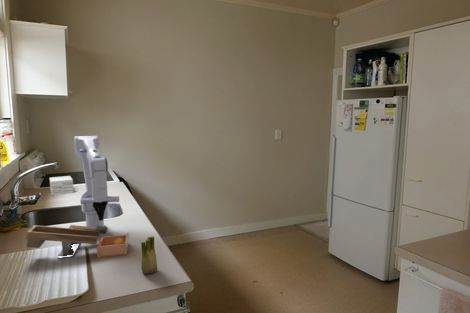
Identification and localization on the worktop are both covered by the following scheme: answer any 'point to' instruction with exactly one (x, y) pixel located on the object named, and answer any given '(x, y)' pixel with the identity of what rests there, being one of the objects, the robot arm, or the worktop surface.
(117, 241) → the ball
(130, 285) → the worktop surface
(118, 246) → the open box
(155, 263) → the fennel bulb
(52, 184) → the white napkin stack
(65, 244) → the stand
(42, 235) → the wooden tray
